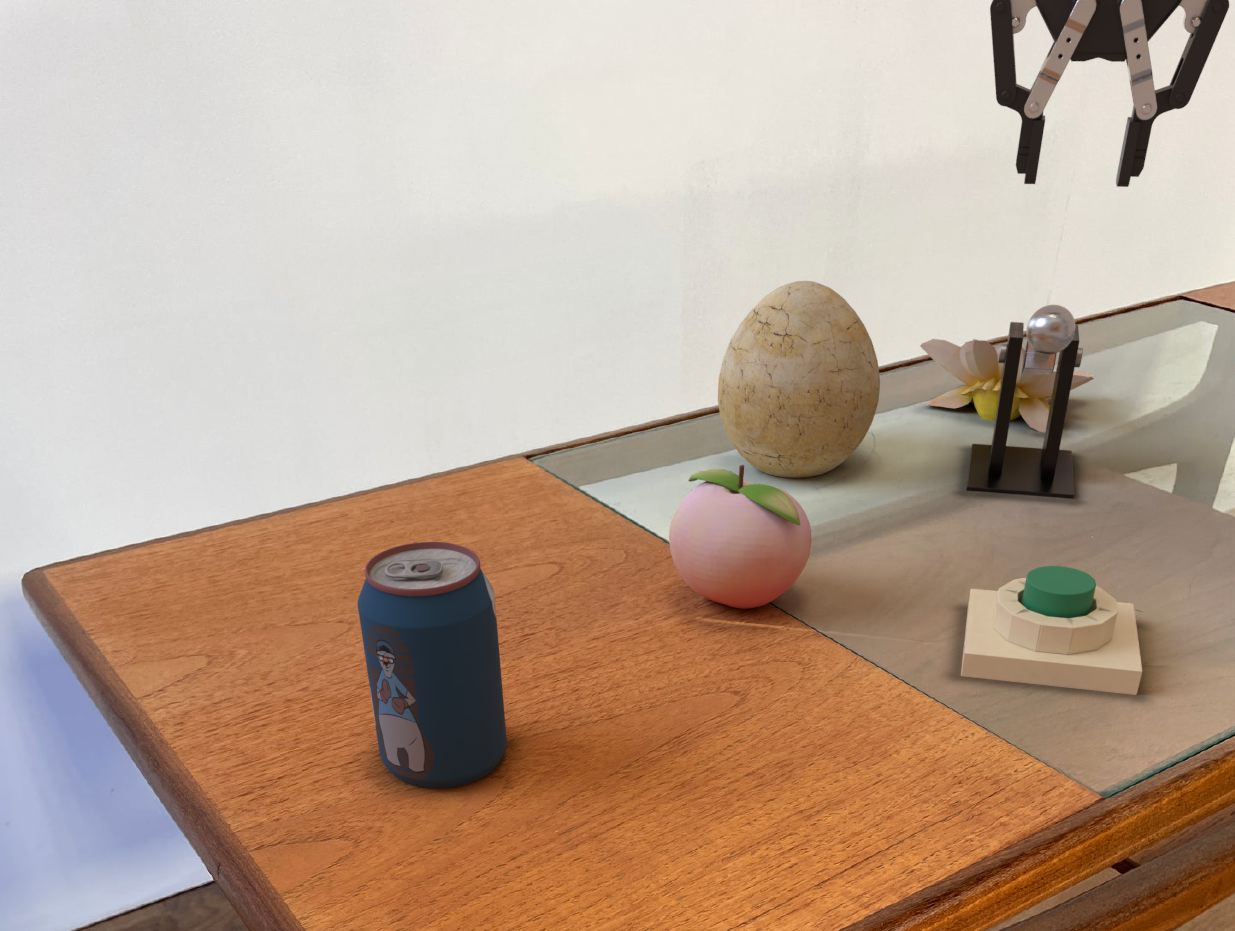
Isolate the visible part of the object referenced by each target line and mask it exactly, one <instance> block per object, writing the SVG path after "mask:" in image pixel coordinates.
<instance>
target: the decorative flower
mask: <svg viewBox="0 0 1235 931" xmlns="http://www.w3.org/2000/svg"><path fill="white" fill-rule="evenodd" d="M1004 344H1007V342H1006V343H1004ZM919 347H920V348H921V349H922V350H923V351H924V352H925V353H926V354H927V355H928V356H929V357H930V358H931V359H932V360H933V361H934V362H935V364H938V365H939V366H940V367H941V368H943V369H944V370H945V371H947V373H949V374H950V375H952V376H953V377H954V378H956V379H957V380H958V381H959V382H962V383H963V384H965V385H963V386H960V387H956V388H954V389H950V390H948V391H946V392H944V393H942V394H941V395H939V396H937V397H935V398H933V399H932V400H931V401H929V402H926V403H925V405H926V406H931V407H939V408H940V407H941V408H946V409H947V408H948V409H958V408H962V407H965V406H966V405H969V403H971V404H974V408H975V410H976V412H977V414H978V416H979V417H980V418H982V419H983V420H985V421H990V422H995V419H996V412H997V406H998V399H999V393H1000V386H1001V380H1002V373H1003V367H1004V363H998V359H999V352H1000V347H999V348H997V350H996V347H995V346H994V345H992V344H991V343H990V342H989V341H987V340H982V339H980V340H979V339H977V338H973V339H972V340H969V341H965V342H964V343H963V344H962V346H959V345H958V344H955V343H953V342H950V341H948V340H945V339H938V338H932V339H929V340H927V341H925V342H922V343H921V344H920V345H919ZM1024 355H1025V349H1024V348H1023V347H1022V349H1021V355H1020V361H1019V367H1018V374H1017V380H1016V386H1015V392H1014V399H1013V405H1012V411H1011V417H1010V422H1011V421H1014V420H1016V419H1018V418H1019V417H1022V419H1023V420H1024V421H1025V423H1026V424H1027V425H1028V427H1030V429H1033V430H1035V431H1037V432H1039V433H1045V432H1046V426H1047V420H1048V415H1049V409H1050V402H1048V400H1047V399H1051V398H1052V392H1053V387H1054V381H1055V375H1056V371H1055V370H1053V372H1052V374H1051V375H1050V376H1049V375H1031V374H1022V368H1023V361H1024ZM1094 377H1095V375H1094V374H1090V373H1087V372H1085V371H1080V370H1074V373H1073V379H1072V384H1071V389H1070V391H1072V390H1075V389H1077V388H1078V387H1082V385H1085V384H1087V383H1089V382H1090V381H1093V380H1094V379H1095V378H1094Z"/></svg>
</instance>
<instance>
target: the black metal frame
mask: <svg viewBox="0 0 1235 931" xmlns="http://www.w3.org/2000/svg"><path fill="white" fill-rule="evenodd" d="M1024 326H1025V323H1024V322H1021V321H1020V322H1019V321H1010V322H1009V329H1008V336H1007V342H1006V343H1007V344H1005V343H1000V345H999V348H1000V352H999V359H998V363H1004V367H1003V373H1002V380H1001V386H1000V393H999V399H998V406H997V412H996V419H995V421H994V427H993V433H992V439H991V444H984V443H983V444H982V443H981V444H980V443H972V444H971V450H970V459H969V467H968V475H967V483H966V491H967V492H978V493H992V494H993V493H994V494H1006V495H1017V496H1018V495H1020V496H1031V497H1045V498H1056V499H1057V498H1059V499H1070V500H1071V499H1072V500H1074V498H1075V485H1074V467H1073V451H1072V450H1068V449H1061V444H1062V443H1061V442H1062V437H1063V433H1064V432H1063V431H1064V427H1065V421H1066V415H1067V411H1068V410H1067V409H1068V405H1069V401H1070V400H1069V399H1070V394H1071V390H1070V389H1071V384H1072V379H1073V373H1074V371H1075V368H1081V364H1082V361H1083V352H1084V348H1083V347H1079V346H1080V332H1079V325H1078V324H1075V333H1074V336H1073V339H1072V341H1071V342H1070V344H1069V345H1068V346H1067V347H1066V348H1065V349H1063V350H1062V351H1060V352H1058V353H1059V354H1058V360H1057V364H1056V371H1055V372H1056V375H1055V381H1054V387H1053V392H1052V397H1051V398H1050V402H1049V405H1050V409H1049V415H1048V420H1047V426H1046V432H1044V437H1043V444H1042V448H1040V447H1028V446H1027V447H1026V446H1025V447H1024V446H1011V445H1007V441H1008V436H1009V428H1010V422H1011V421H1010V417H1011V411H1012V405H1013V399H1014V392H1015V386H1016V380H1017V374H1018V367H1019V361H1020V355H1021V349H1022V348H1023V343H1024V330H1025V329H1024Z"/></svg>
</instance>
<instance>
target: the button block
mask: <svg viewBox="0 0 1235 931" xmlns="http://www.w3.org/2000/svg"><path fill="white" fill-rule="evenodd" d="M1025 582H1026V577H1021V578H1020V577H1019V578H1015V579H1012V580H1010V581H1008V582H1007V583H1005V584H1003V585H1002V586H1000V587H999V588H998V590H991V589H980V588H970V591H969V598H968V603H967V612H966V622H965V632H964V643H963V649H962V660H961V670H960V677H966V678H975V679H984V680H985V679H986V680H993V681H1003V682H1012V683H1013V682H1014V683H1021V684H1032V685H1040V686H1047V687H1048V686H1050V687H1059V688H1068V689H1078V690H1085V691H1086V690H1087V691H1095V692H1103V693H1104V692H1105V693H1106V692H1107V693H1115V694H1122V695H1123V694H1124V695H1133V696H1137V695H1138V693H1139V692H1138V691H1139V687H1140V683H1141V680H1142V676H1143V665H1142V658H1141V648H1140V643H1139V634H1138V626H1137V619H1136V612H1135V611H1136V610H1135V604H1134V603H1131V602H1122V601H1121V602H1120V601H1118V600H1117V599H1116V598H1114V597H1113V596H1112V595H1110V593H1108V592H1106V591H1105V590H1104V589H1103V588H1101V587H1100V586H1098V585H1096V588H1095V593H1094V597H1093V602H1092V606H1091V611H1090V613H1089V614H1088V615H1087V616H1081V617H1075V618H1059V617H1049V616H1045V615H1042V614H1039V613H1036V612H1033V611H1030V610H1028V609H1027V608H1025V607H1024V606H1023V605H1022V598H1023V593H1024V587H1025Z"/></svg>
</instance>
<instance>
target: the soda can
mask: <svg viewBox="0 0 1235 931" xmlns="http://www.w3.org/2000/svg"><path fill="white" fill-rule="evenodd" d="M364 577H365V579H364V582H363V585H362V587H361V590H360V592H359V595H358V598H357V610H358V611H357V612H358V618H359V623H360V630H361V637H362V644H363V652H364V657H365V664H366V665H365V666H366V671H367V677H368V678H367V679H368V684H369V692H370V698H371V705H372V711H373V720H374V725H375V726H374V727H375V731H376V738H377V746H378V752H379V758H380V760H381V761H382V762H381V763H383V765H384V766H385V767H386V769H387V770H388V772H390V773H391V774H392V775H393V777H395V778H396V779H397V780H399V781H401V782H403V783H405V784H407V785H411V786H414V787H418V788H422V789H423V788H424V789H451V788H457V787H461V786H465V785H468V784H471V783H473V782H474V783H475V782H476V781H479V780H481V779H483V778H484V777H486V776H488V775H489V774H490V773H491V772H492V771H494V770H495V769H496V768H497V767H498V765H499V764H500V761H501V760H502V758H503V756H504V754H505V751H506V749H507V744H508V738H507V729H506V714H505V703H504V692H503V690H504V689H503V678H502V667H501V656H500V654H501V653H500V644H499V630H498V620H497V608H496V596H495V595H496V594H495V589H494V587H493V585H492V584H491V581H490V580H489V579H488V577H487V575H486V574H485V573H484V571H483V570H482V568H481V560H480V558H479V556H478V554H476V552H474V551H473V550H471V549H470V548H467V547H465V546H463V545H459V544H456V543H452V542H446V541H421V542H412V543H405V544H401V545H398V546H394V547H390V548H388V549H385V550H383V551H381V552H380V553H379V552H378V553H376V555H374V556H373V557H371V558H370V560H368V562H367V563H366V565H365V567H364Z"/></svg>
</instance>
